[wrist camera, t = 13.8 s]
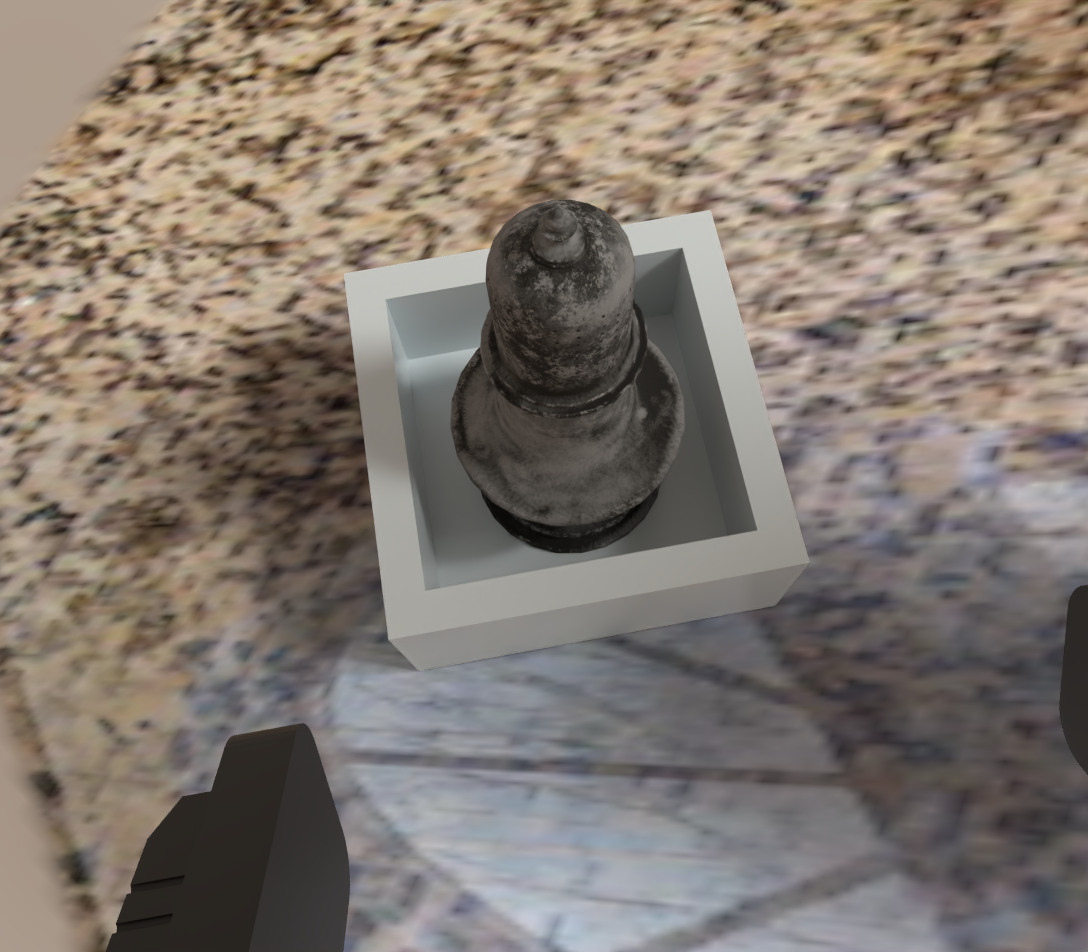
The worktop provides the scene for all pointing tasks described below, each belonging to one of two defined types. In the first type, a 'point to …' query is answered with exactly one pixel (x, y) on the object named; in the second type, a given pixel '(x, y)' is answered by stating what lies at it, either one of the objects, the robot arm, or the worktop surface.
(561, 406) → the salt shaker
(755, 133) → the worktop surface
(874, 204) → the worktop surface
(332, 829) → the robot arm
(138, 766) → the worktop surface
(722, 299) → the sleeve
